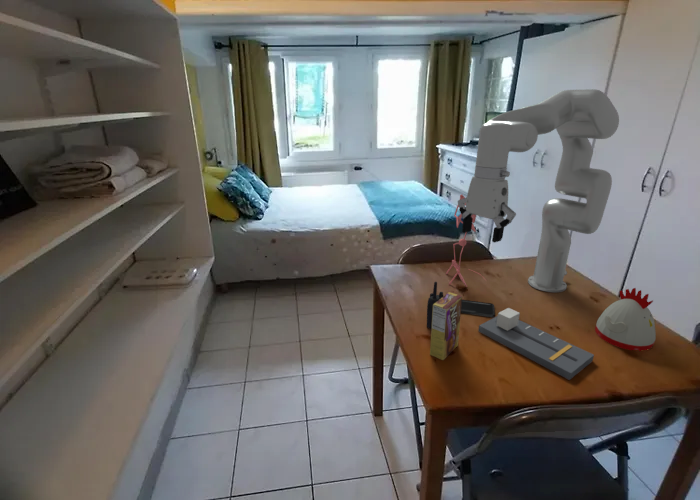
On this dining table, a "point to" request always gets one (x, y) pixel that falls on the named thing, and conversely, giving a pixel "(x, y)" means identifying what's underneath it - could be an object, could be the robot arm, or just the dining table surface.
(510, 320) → the fader cap
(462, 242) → the figurine
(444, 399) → the dining table surface
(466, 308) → the phone
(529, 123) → the robot arm
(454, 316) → the candy box
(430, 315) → the two-way radio
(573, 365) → the fader console
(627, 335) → the kitchen timer
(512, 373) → the dining table surface
